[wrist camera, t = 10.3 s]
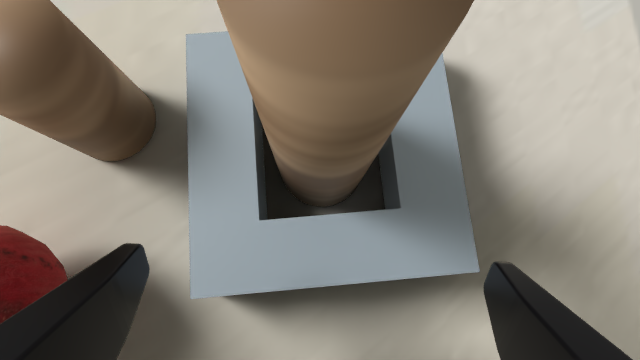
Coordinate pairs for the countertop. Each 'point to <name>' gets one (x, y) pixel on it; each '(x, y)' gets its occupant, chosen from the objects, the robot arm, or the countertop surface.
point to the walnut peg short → (68, 84)
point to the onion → (25, 271)
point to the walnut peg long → (335, 79)
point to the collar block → (322, 230)
